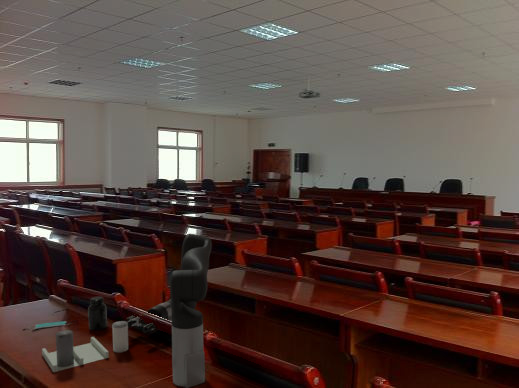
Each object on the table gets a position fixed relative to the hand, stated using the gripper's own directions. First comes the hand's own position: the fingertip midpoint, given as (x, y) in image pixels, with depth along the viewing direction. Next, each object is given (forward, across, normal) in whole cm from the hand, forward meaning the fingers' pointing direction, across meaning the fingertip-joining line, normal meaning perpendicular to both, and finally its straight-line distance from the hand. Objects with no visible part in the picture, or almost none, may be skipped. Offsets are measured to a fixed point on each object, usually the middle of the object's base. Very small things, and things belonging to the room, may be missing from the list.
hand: (134, 328), depth 162 cm
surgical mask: (-3, -43, +6) cm, 44 cm away
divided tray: (+17, -11, +6) cm, 21 cm away
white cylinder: (+7, 0, +6) cm, 9 cm away
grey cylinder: (+23, -9, +5) cm, 25 cm away
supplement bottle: (-8, -24, +6) cm, 26 cm away
